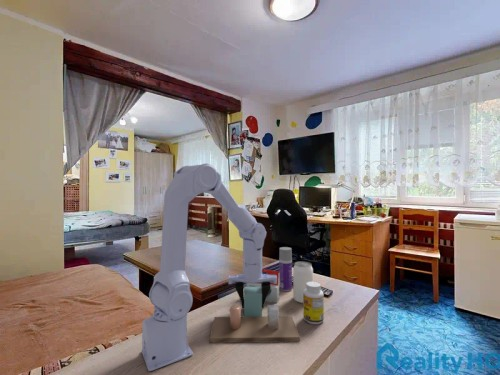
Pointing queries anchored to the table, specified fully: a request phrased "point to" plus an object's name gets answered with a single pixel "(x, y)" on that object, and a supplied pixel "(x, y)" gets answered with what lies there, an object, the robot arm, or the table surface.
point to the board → (254, 330)
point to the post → (273, 317)
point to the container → (285, 269)
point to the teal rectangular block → (252, 302)
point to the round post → (235, 317)
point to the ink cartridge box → (274, 291)
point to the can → (301, 279)
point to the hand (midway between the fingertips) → (252, 306)
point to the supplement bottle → (313, 303)
